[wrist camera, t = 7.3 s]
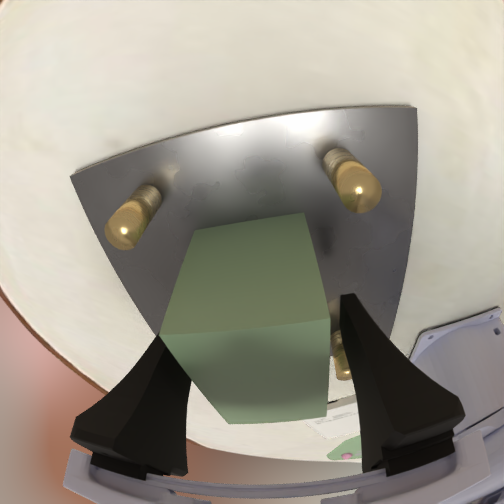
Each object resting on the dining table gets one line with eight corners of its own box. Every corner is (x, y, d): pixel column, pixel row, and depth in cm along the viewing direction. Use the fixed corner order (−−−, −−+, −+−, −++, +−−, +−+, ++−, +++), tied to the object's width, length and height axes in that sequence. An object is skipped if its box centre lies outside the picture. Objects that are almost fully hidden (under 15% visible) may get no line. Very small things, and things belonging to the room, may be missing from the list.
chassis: (410, 105, 9) (458, 122, 6) (385, 338, 18) (397, 378, 15) (76, 171, 11) (33, 205, 9) (180, 361, 21) (172, 400, 18)
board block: (304, 212, 12) (330, 318, 7) (314, 327, 17) (326, 416, 12) (194, 230, 13) (159, 334, 8) (235, 336, 17) (228, 424, 12)
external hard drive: (323, 430, 33) (294, 405, 26) (379, 415, 30) (368, 385, 24) (324, 440, 31) (295, 418, 25) (381, 425, 29) (371, 398, 23)
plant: (302, 443, 37) (304, 491, 30) (425, 407, 31) (437, 456, 23) (338, 459, 50) (341, 491, 42) (421, 434, 43) (428, 467, 36)
